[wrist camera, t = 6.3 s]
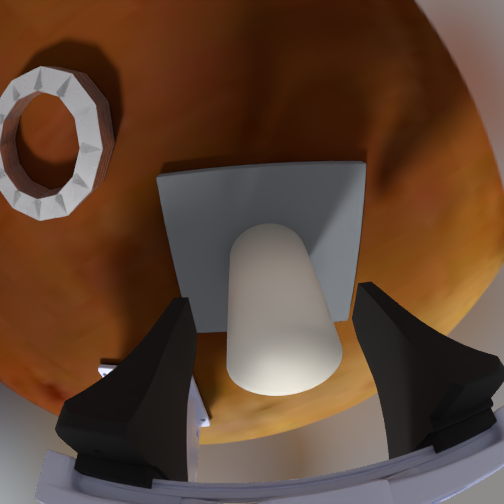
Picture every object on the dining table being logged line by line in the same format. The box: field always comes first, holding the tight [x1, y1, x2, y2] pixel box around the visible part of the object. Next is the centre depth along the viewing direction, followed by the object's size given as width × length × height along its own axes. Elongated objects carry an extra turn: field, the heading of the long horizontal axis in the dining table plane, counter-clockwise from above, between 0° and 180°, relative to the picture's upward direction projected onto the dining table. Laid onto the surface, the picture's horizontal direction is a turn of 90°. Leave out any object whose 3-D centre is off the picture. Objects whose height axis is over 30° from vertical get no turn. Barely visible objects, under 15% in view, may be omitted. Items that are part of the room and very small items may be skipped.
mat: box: [156, 161, 366, 333], centre depth 16 cm, size 10×10×1 cm
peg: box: [227, 223, 343, 396], centre depth 13 cm, size 4×4×7 cm
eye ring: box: [0, 66, 115, 221], centre depth 12 cm, size 8×8×2 cm
